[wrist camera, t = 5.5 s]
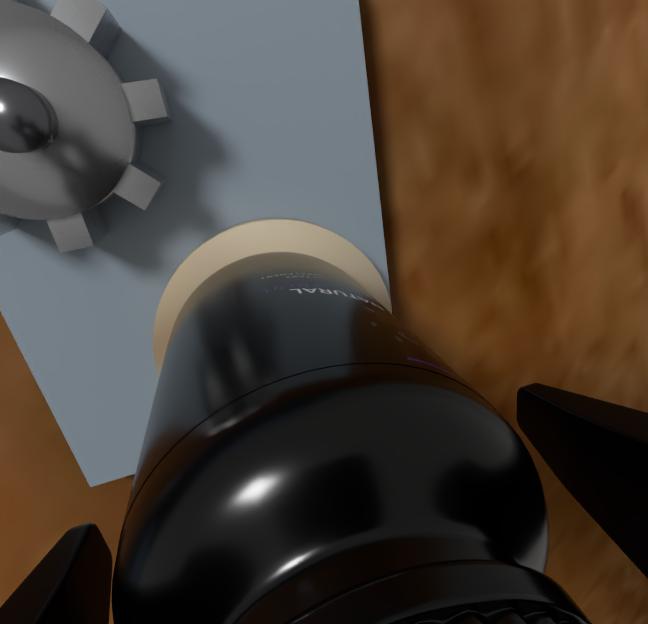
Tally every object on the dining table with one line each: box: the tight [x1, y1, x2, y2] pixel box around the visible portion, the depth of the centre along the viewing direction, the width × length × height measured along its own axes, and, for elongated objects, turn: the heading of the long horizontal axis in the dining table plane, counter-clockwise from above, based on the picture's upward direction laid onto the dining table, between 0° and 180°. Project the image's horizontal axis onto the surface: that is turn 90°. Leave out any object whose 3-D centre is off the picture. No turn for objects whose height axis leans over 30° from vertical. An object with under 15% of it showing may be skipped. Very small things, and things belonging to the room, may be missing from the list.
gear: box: [0, 0, 173, 253], centre depth 10 cm, size 6×6×3 cm
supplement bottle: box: [112, 252, 592, 624], centre depth 9 cm, size 7×7×12 cm
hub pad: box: [153, 218, 392, 376], centre depth 14 cm, size 8×8×1 cm
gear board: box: [0, 0, 392, 487], centre depth 14 cm, size 14×12×1 cm
